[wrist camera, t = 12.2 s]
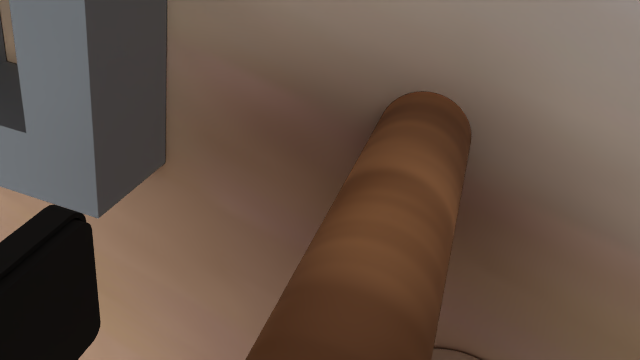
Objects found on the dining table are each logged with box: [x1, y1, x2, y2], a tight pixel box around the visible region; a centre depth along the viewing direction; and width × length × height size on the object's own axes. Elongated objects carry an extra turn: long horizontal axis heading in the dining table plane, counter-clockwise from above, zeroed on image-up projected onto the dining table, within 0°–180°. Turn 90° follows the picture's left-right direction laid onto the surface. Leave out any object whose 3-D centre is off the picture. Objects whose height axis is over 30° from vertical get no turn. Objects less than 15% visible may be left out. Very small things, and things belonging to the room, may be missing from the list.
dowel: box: [246, 92, 471, 360], centre depth 15 cm, size 3×3×12 cm
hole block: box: [0, 0, 167, 218], centre depth 20 cm, size 10×10×4 cm
